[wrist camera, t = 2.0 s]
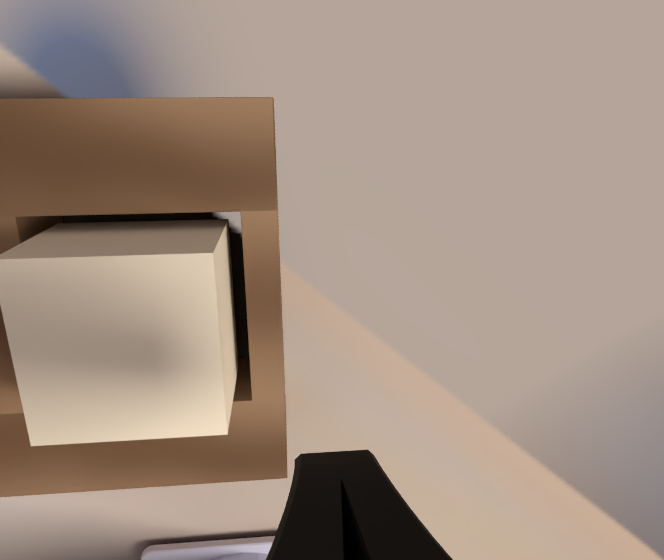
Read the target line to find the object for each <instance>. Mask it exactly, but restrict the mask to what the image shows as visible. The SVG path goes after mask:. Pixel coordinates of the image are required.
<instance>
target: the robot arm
mask: <svg viewBox="0 0 664 560" xmlns="http://www.w3.org/2000/svg"><path fill="white" fill-rule="evenodd" d="M141 560H453V559H452V558H451V557H450V556H449V555H448V554H447V553H446V551H445V550H444V549H443V548H442V547H441V546H440V544H439V543H438V542H437V541H436V540H435V539H434V537H433V536H432V535H431V534H430V532H429V531H428V530H427V529H426V527H425V526H424V525H423V524H422V522H421V521H420V520H419V519H418V517H417V516H416V515H415V514H414V512H413V511H412V510H411V509H410V507H409V506H408V505H407V503H406V502H405V501H404V499H403V498H402V497H401V495H400V494H399V492H398V491H397V490H396V488H395V487H394V485H393V484H392V483H391V481H390V480H389V478H388V477H387V475H386V474H385V472H384V471H383V469H382V468H381V466H380V465H379V463H378V461H377V460H376V458H375V456H374V455H373V454H372V453H371V452H370V451H369V450H356V451H340V452H323V453H307V454H300V455H299V456H298V457H297V458H296V459H295V469H294V475H293V480H292V485H291V489H290V493H289V496H288V500H287V503H286V507H285V510H284V513H283V516H282V518H281V521H280V524H279V527H278V530H277V532H276V535H275V536H267V537H254V538H240V539H227V540H214V541H201V542H188V543H174V544H161V545H152V546H148V547H147V548H145V549H144V551H143V553H142V556H141Z"/></svg>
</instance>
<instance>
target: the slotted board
mask: <svg viewBox="0 0 664 560" xmlns="http://www.w3.org/2000/svg"><path fill="white" fill-rule="evenodd" d="M232 211H233V212H234V211H241V225H242V242H243V258H244V274H245V291H246V307H247V324H248V340H249V356H250V358H238V372H237V378H236V385H235V391H234V397H233V403H232V410H231V416H230V422H229V428H228V435H213V436H196V437H179V438H162V439H146V440H129V441H112V442H95V443H78V444H61V445H44V446H31V444H30V440H29V435H28V430H27V426H26V421H25V416H24V412H23V407H22V403H21V398H20V393H19V389H18V384H17V380H16V375H15V370H14V366H13V361H12V356H11V352H10V347H9V343H8V338H7V333H6V329H5V324H4V320H3V315H2V310H1V306H0V497H10V496H25V495H40V494H55V493H70V492H85V491H100V490H115V489H130V488H145V487H160V486H175V485H190V484H205V483H220V482H235V481H250V480H265V479H280V478H287V437H286V406H285V380H284V354H283V328H282V303H281V277H280V252H279V226H278V200H277V174H276V149H275V123H274V99H273V97H234V98H233V97H219V98H218V97H216V98H36V99H0V254H2V253H4V252H6V251H8V250H9V249H11V248H13V247H15V246H17V245H19V244H21V243H23V242H24V241H26V240H28V239H30V238H32V237H34V236H36V235H38V234H39V233H41V232H43V231H45V230H47V229H49V228H51V227H52V226H54V225H56V224H58V223H63V219H62V216H65V215H107V214H149V213H191V212H232Z"/></svg>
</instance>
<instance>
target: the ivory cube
mask: <svg viewBox="0 0 664 560" xmlns="http://www.w3.org/2000/svg"><path fill="white" fill-rule="evenodd" d="M0 306H1V310H2V315H3V320H4V324H5V329H6V333H7V338H8V343H9V347H10V352H11V356H12V361H13V366H14V370H15V375H16V380H17V384H18V389H19V393H20V398H21V403H22V407H23V412H24V416H25V421H26V426H27V430H28V435H29V440H30V444H31V446H44V445H61V444H78V443H95V442H112V441H129V440H146V439H162V438H179V437H196V436H213V435H228V428H229V422H230V416H231V410H232V403H233V397H234V391H235V385H236V378H237V372H238V353H237V338H236V324H235V309H234V295H233V280H232V266H231V251H230V236H229V222H228V219H217V220H177V221H137V222H97V223H58V224H56V225H54V226H52V227H51V228H49V229H47V230H45V231H43V232H41V233H39V234H38V235H36V236H34V237H32V238H30V239H28V240H26V241H24V242H23V243H21V244H19V245H17V246H15V247H13V248H11V249H9V250H8V251H6V252H4V253H2V254H0Z"/></svg>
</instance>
